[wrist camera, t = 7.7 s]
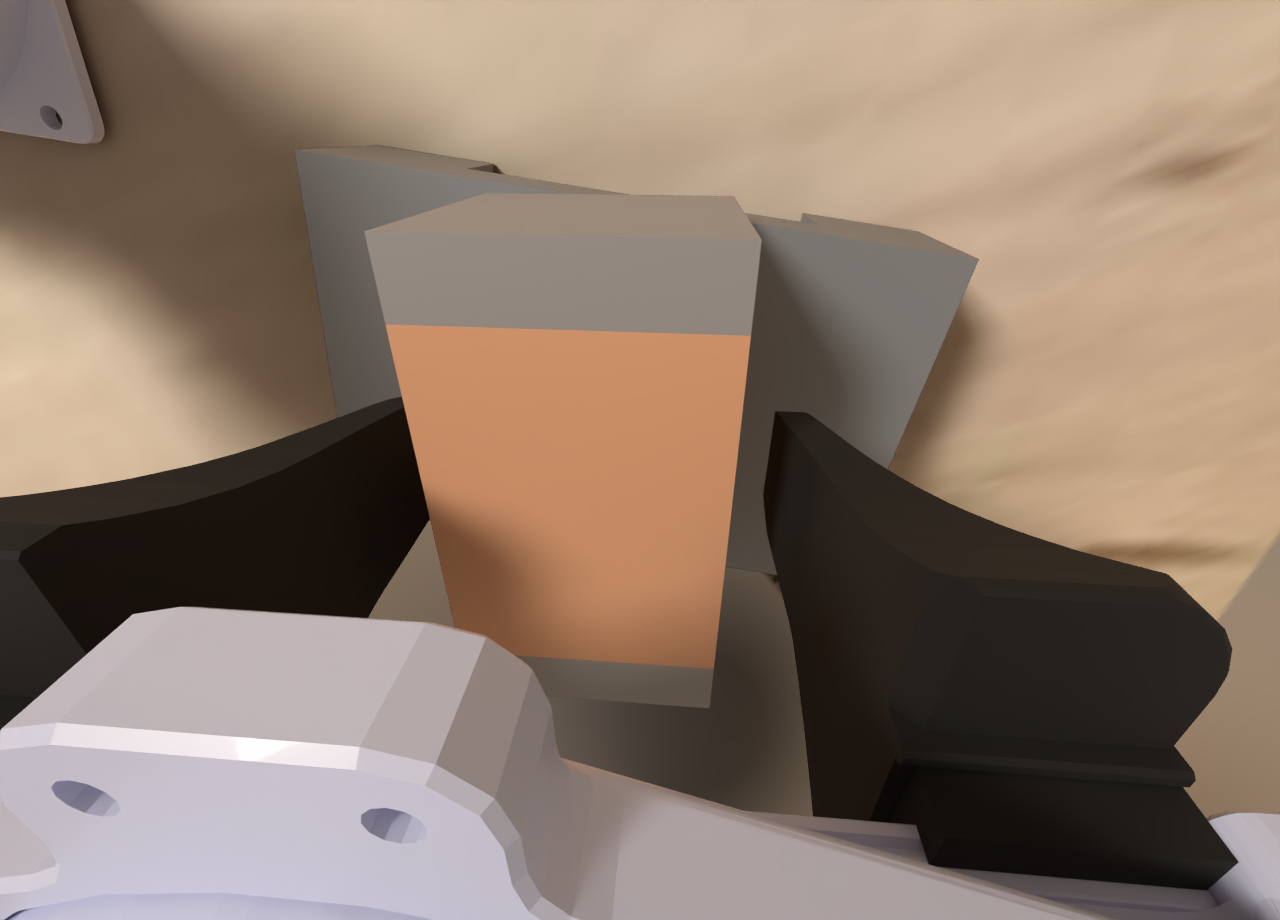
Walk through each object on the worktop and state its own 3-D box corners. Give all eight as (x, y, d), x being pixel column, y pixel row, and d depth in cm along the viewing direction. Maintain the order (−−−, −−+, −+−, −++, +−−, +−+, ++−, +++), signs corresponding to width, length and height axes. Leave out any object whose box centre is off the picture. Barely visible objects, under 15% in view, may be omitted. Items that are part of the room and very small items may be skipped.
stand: (405, 447, 19) (351, 508, 16) (377, 145, 14) (293, 149, 11) (814, 512, 19) (838, 584, 16) (918, 231, 14) (979, 259, 11)
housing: (703, 549, 16) (709, 708, 11) (528, 540, 16) (469, 690, 12) (734, 196, 11) (761, 239, 7) (486, 192, 11) (363, 230, 7)
